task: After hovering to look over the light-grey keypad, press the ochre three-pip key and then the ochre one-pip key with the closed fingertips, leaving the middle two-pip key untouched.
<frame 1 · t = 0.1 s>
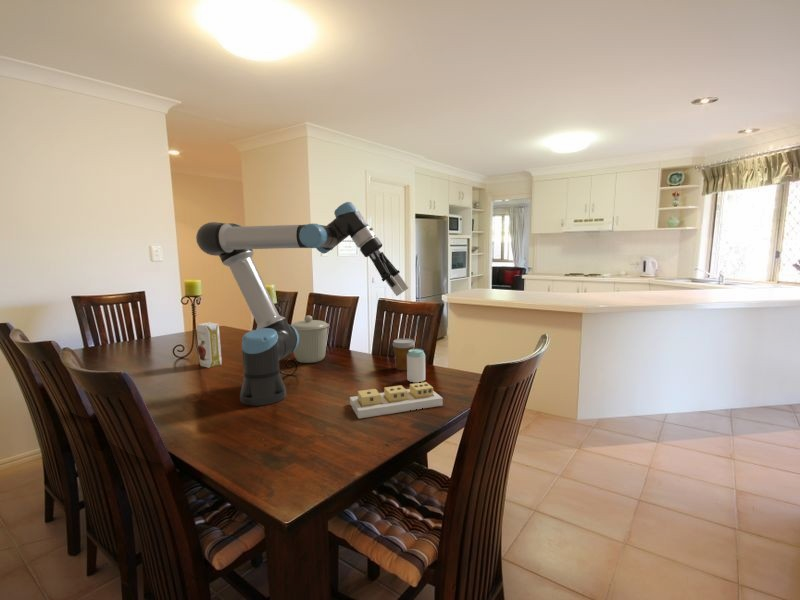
hand: (403, 292, 140), 36 cm above the table, tool tilted 35°, fingers open, 13 cm apart
one pip key: (369, 398, 128), point 4 cm above the table, slide at 0.0 cm
two pip key: (395, 394, 131), point 4 cm above the table, slide at 0.0 cm
keypad base: (396, 404, 132), on the table
juice carton: (211, 365, 181), on the table
disposable coffee cup: (403, 368, 172), on the table
canister: (310, 360, 186), on the table
three pip key: (421, 390, 134), point 4 cm above the table, slide at 0.0 cm
can: (416, 381, 155), on the table
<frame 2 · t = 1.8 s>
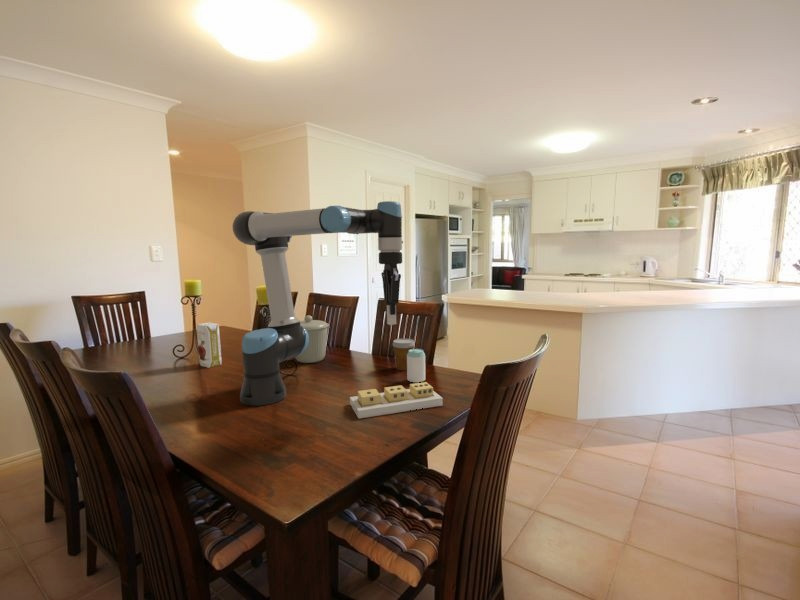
hand: (391, 324, 131), 26 cm above the table, tool pointing down, fingers closed
nothing on the table moved.
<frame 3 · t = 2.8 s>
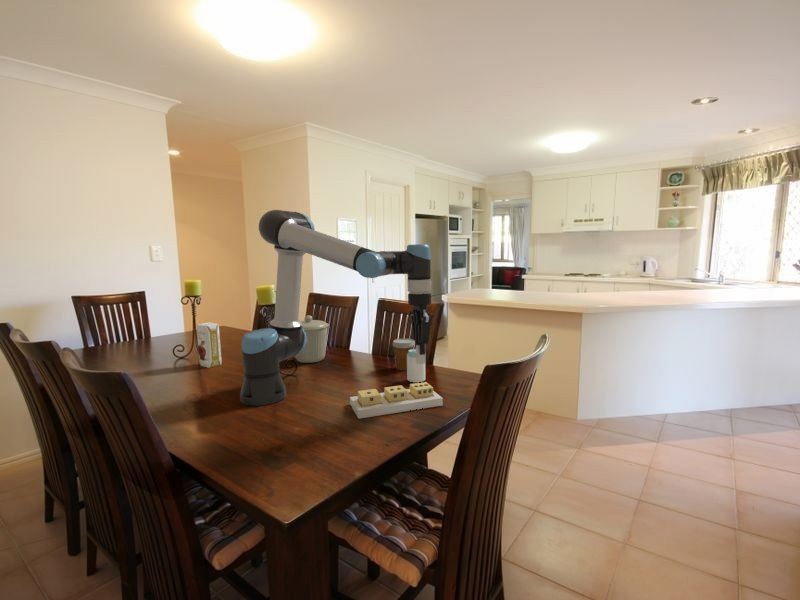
hand: (421, 363, 133), 13 cm above the table, tool pointing down, fingers closed
nothing on the table moved.
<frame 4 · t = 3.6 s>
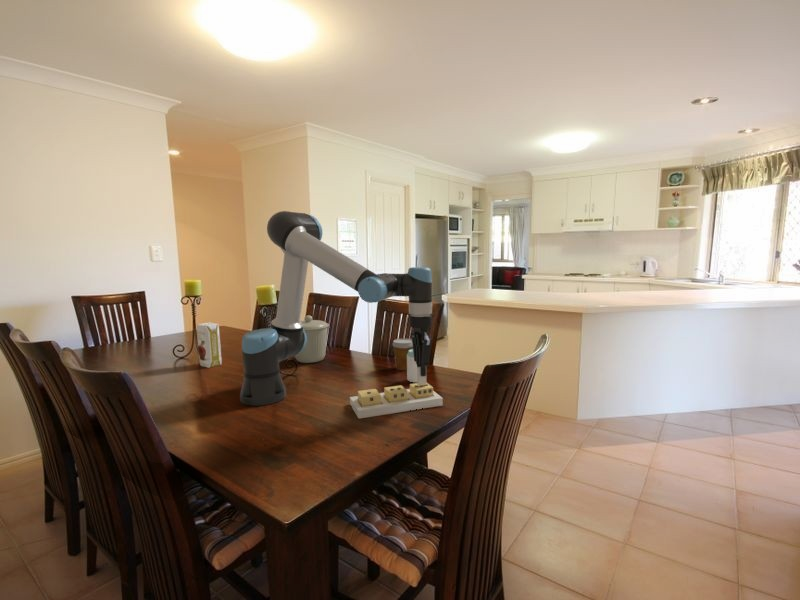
hand: (421, 384, 134), 6 cm above the table, tool pointing down, fingers closed
three pip key: (421, 390, 134), point 4 cm above the table, slide at 0.0 cm, touching gripper
everything else where it was.
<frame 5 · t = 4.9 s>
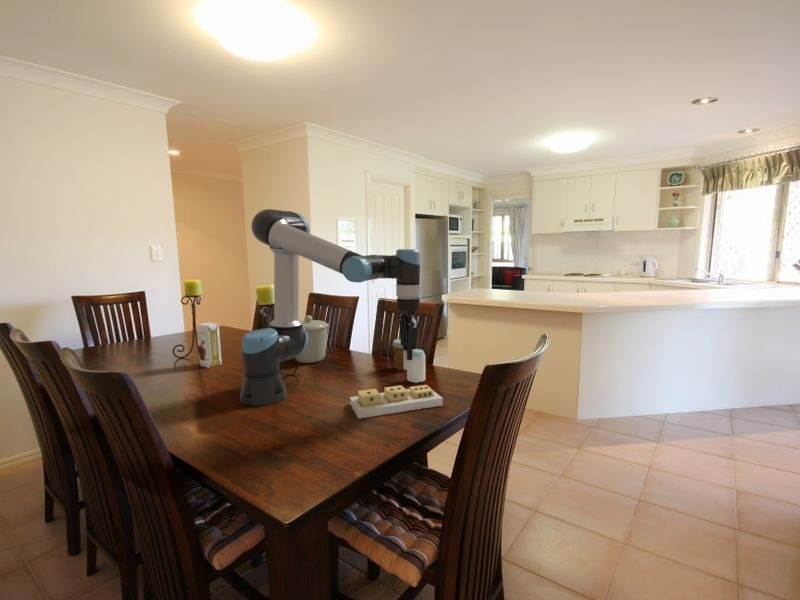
hand: (408, 368, 132), 12 cm above the table, tool pointing down, fingers closed
three pip key: (421, 393, 134), point 3 cm above the table, slide at 1.0 cm
everything else where it was.
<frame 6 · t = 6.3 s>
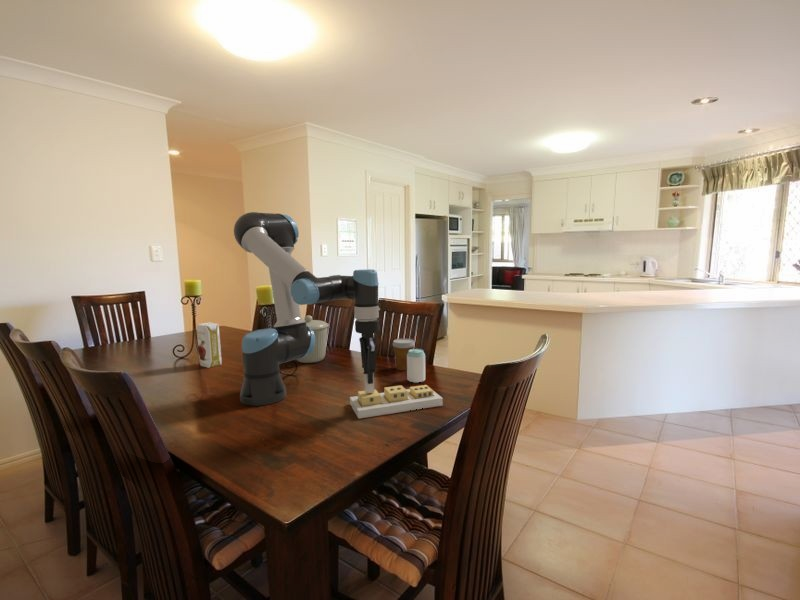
hand: (369, 392, 128), 6 cm above the table, tool pointing down, fingers closed
one pip key: (369, 398, 128), point 4 cm above the table, slide at 0.1 cm, touching gripper
everything else where it was.
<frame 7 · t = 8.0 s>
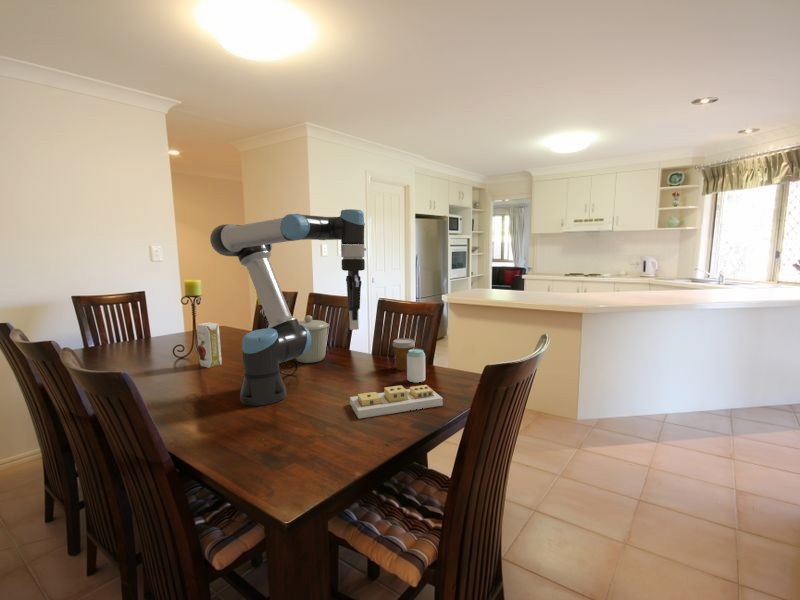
hand: (354, 329, 134), 24 cm above the table, tool pointing down, fingers closed
one pip key: (369, 401, 128), point 3 cm above the table, slide at 1.0 cm
everything else where it was.
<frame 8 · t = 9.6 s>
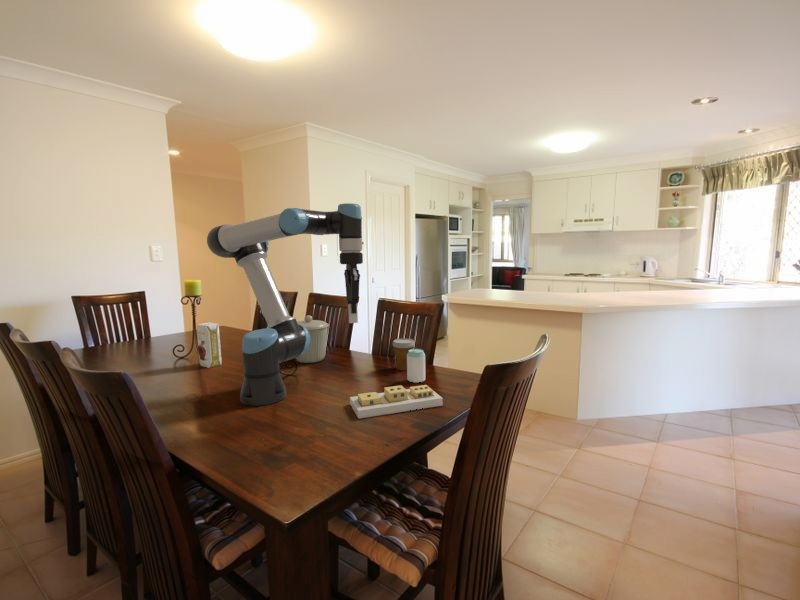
hand: (353, 322, 135), 26 cm above the table, tool pointing down, fingers closed
nothing on the table moved.
at the end: three pip key slide at 1.0 cm; one pip key slide at 1.0 cm; two pip key slide at 0.0 cm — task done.
